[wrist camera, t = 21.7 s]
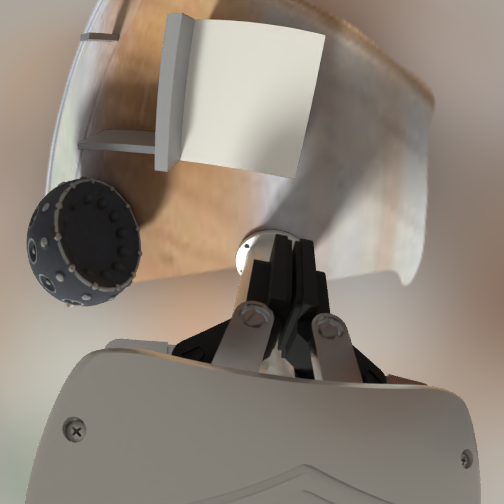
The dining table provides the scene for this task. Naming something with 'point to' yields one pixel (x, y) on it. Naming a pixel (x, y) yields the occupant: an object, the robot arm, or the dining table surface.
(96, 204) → the studded black wheel
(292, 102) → the lid
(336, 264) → the dining table surface
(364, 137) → the dining table surface
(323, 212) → the dining table surface
